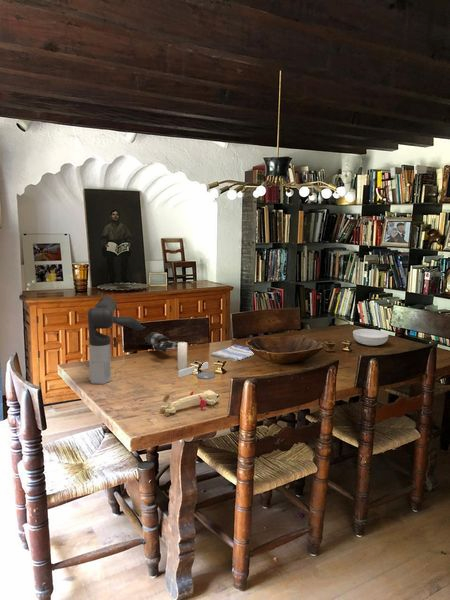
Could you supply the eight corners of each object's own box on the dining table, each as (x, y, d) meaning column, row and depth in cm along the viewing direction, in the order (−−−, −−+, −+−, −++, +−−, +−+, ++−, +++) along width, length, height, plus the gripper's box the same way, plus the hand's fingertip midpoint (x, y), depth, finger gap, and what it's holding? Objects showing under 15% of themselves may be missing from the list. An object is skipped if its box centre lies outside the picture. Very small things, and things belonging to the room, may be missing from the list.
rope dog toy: (170, 422, 181) (225, 403, 195) (169, 400, 180) (224, 383, 193) (158, 413, 189) (211, 395, 203) (156, 392, 187) (210, 376, 201)
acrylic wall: (208, 367, 242) (208, 362, 242) (179, 377, 227) (179, 371, 226) (207, 367, 243) (207, 361, 242) (178, 377, 227) (178, 370, 227)
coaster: (215, 379, 225) (215, 378, 225) (195, 379, 225) (195, 377, 225) (215, 373, 234) (215, 372, 234) (196, 372, 234) (196, 371, 234)
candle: (186, 370, 237) (186, 342, 235) (177, 370, 237) (177, 342, 235) (187, 367, 242) (187, 340, 240) (177, 367, 242) (178, 340, 240)
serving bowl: (347, 339, 306) (347, 328, 305) (379, 339, 308) (380, 328, 307) (359, 348, 286) (360, 337, 284) (393, 348, 288) (394, 337, 287)
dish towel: (210, 356, 263) (210, 351, 263) (236, 348, 282) (236, 343, 281) (235, 363, 253) (236, 357, 252) (261, 353, 271) (261, 348, 271)
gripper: (172, 347, 265) (185, 354, 252) (147, 350, 258) (159, 358, 245) (172, 333, 264) (185, 340, 250) (147, 336, 257) (160, 343, 243)
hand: (173, 349), depth 248 cm, fingers open, 8 cm apart
